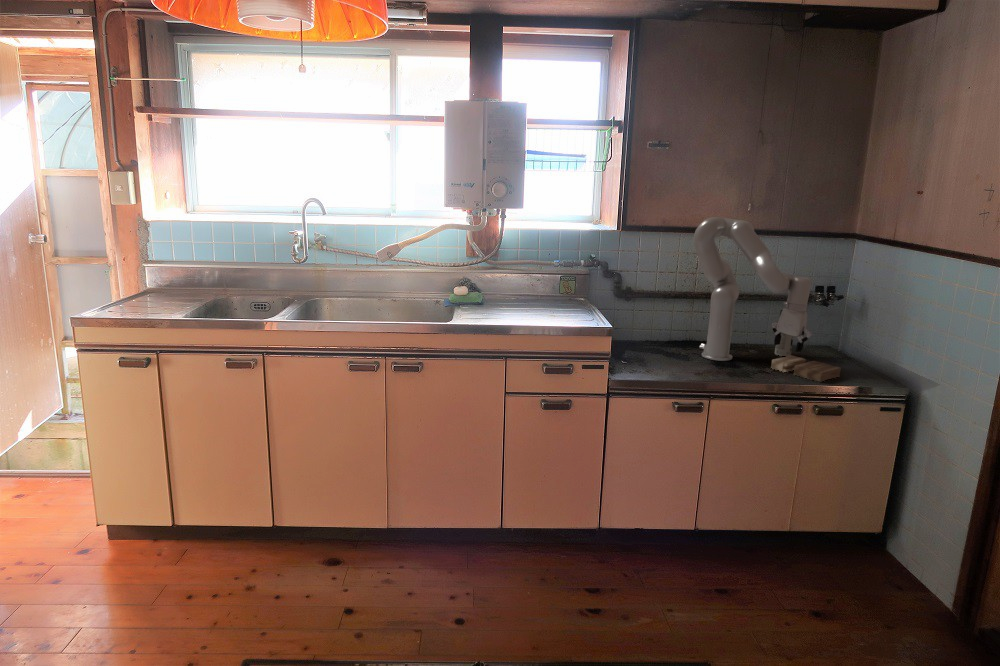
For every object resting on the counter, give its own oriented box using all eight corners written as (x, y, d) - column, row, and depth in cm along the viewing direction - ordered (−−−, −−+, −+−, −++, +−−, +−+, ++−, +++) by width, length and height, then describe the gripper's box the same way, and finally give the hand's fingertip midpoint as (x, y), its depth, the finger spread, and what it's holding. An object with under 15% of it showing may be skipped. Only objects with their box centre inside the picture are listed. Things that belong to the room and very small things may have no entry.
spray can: (792, 357, 284) (798, 313, 279) (775, 356, 285) (782, 311, 281) (788, 353, 290) (795, 309, 286) (772, 352, 292) (778, 308, 287)
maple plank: (770, 369, 267) (772, 359, 266) (790, 364, 274) (791, 355, 273) (785, 373, 261) (786, 363, 260) (804, 368, 269) (806, 359, 268)
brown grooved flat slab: (790, 374, 260) (792, 364, 259) (810, 369, 267) (811, 359, 266) (819, 382, 250) (821, 372, 249) (839, 377, 258) (840, 367, 257)
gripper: (771, 302, 267) (763, 342, 271) (811, 313, 253) (802, 355, 258) (781, 301, 271) (773, 341, 275) (821, 311, 257) (812, 353, 262)
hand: (787, 347), depth 266 cm, fingers open, 9 cm apart
